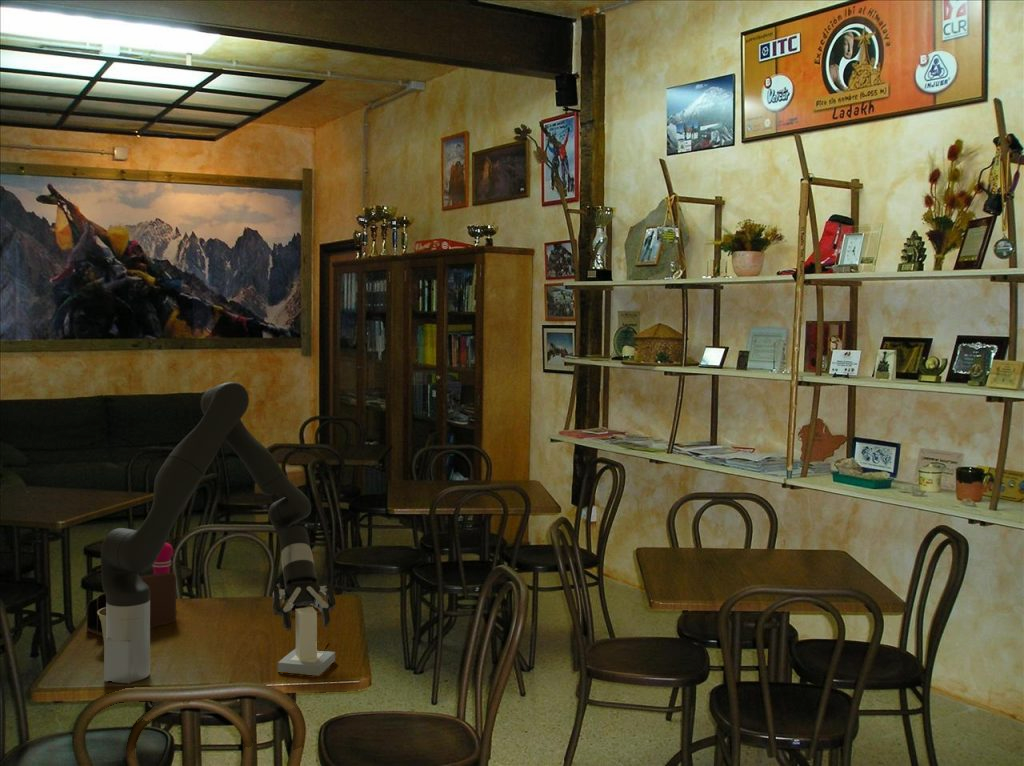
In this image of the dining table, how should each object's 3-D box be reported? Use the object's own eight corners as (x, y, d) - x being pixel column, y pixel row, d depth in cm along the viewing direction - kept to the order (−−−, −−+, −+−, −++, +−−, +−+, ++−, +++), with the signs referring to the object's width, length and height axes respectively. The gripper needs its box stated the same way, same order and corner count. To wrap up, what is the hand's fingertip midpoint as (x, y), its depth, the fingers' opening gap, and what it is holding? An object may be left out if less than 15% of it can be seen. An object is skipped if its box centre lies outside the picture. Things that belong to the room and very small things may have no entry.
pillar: (317, 657, 234) (316, 612, 233) (299, 660, 232) (299, 614, 231) (312, 651, 238) (312, 606, 237) (295, 654, 236) (295, 608, 235)
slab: (319, 679, 229) (319, 665, 229) (277, 675, 231) (278, 662, 231) (334, 664, 239) (335, 651, 239) (295, 660, 241) (295, 647, 241)
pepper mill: (167, 613, 273) (167, 540, 272) (142, 611, 274) (142, 538, 273) (180, 605, 280) (180, 534, 279) (155, 604, 282) (156, 533, 280)
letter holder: (176, 622, 267) (177, 569, 266) (108, 640, 251) (108, 584, 250) (154, 614, 273) (154, 563, 272) (86, 632, 257) (86, 577, 256)
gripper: (270, 560, 238) (279, 622, 229) (330, 556, 244) (341, 616, 234) (266, 577, 244) (274, 638, 234) (324, 572, 249) (335, 631, 240)
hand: (307, 627), depth 234 cm, fingers open, 8 cm apart
